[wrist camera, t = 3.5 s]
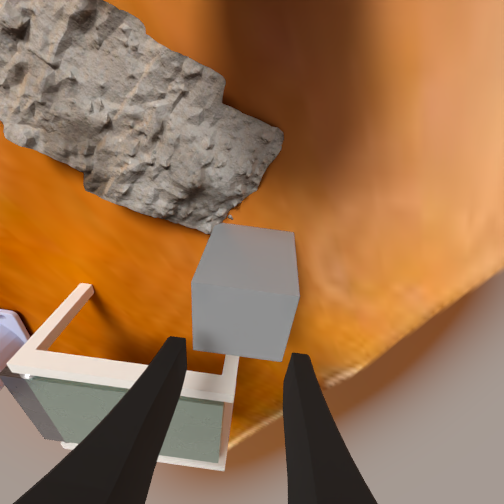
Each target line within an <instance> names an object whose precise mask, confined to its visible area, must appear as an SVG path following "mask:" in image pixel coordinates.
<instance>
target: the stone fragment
mask: <svg viewBox="0 0 504 504" xmlns="http://www.w3.org/2000/svg"><path fill="white" fill-rule="evenodd" d="M225 84H226V81H225V79H224V77H223V76H222V75H220V74H219V73H217V72H215V71H214V70H212V69H211V68H209V67H206V66H204V65H202V64H200V63H198V62H196V61H194V60H192V59H191V58H189V57H187V56H183V55H182V54H180V53H177V52H174V51H171V50H170V49H168V48H167V47H165V46H163V45H161V44H159V43H158V42H156V41H155V40H154V39H152V38H151V37H150V36H148V35H147V34H146V32H145V26H144V25H143V23H142V22H141V21H140V20H139V19H138V18H136V17H135V16H133V15H131V14H129V13H128V12H126V11H123V10H119V9H117V8H116V7H115V6H113V5H111V4H109V3H107V2H105V1H103V0H0V121H2V122H3V124H4V135H5V137H6V139H8V140H9V141H11V142H13V143H15V144H17V145H19V146H22V147H27V148H31V149H34V150H37V151H38V152H40V153H43V154H45V155H48V156H50V157H51V158H53V159H55V160H58V161H60V162H63V163H66V164H68V165H69V166H71V167H73V168H75V169H77V170H78V171H80V172H84V188H85V190H86V191H88V192H90V193H93V194H96V195H97V196H99V197H100V198H102V199H105V200H107V201H110V202H112V203H115V204H118V205H121V206H125V207H127V208H129V209H131V210H134V211H136V212H139V213H142V214H145V215H149V216H152V217H154V218H156V217H159V218H161V219H165V220H169V221H171V222H174V223H179V224H181V225H184V226H186V227H189V228H195V229H198V230H200V231H202V232H204V233H205V234H211V233H212V231H213V228H214V226H215V225H218V224H220V223H221V222H222V221H223V220H224V219H225V218H226V217H227V214H228V212H229V211H230V209H232V208H233V207H235V206H237V204H239V203H241V201H242V200H243V199H244V198H246V197H247V196H248V195H250V194H251V193H253V192H254V191H257V187H258V186H259V183H260V181H261V178H262V176H263V174H264V172H265V171H266V169H267V167H268V166H269V164H270V163H271V162H272V161H273V160H274V159H275V158H276V156H277V155H278V153H279V152H280V150H281V148H282V147H281V145H282V143H283V140H284V134H283V132H282V131H281V130H280V129H279V128H278V127H272V126H270V125H268V124H266V123H264V122H262V121H260V120H258V119H256V118H254V117H251V116H249V115H246V114H244V113H242V112H240V111H239V110H237V109H234V108H232V107H230V106H228V105H225V104H222V97H223V92H224V88H225ZM254 187H255V188H254ZM228 218H230V219H232V220H233V218H232V215H229V216H228Z"/></svg>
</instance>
